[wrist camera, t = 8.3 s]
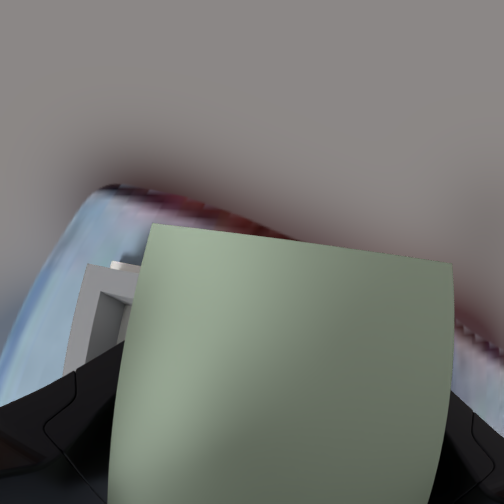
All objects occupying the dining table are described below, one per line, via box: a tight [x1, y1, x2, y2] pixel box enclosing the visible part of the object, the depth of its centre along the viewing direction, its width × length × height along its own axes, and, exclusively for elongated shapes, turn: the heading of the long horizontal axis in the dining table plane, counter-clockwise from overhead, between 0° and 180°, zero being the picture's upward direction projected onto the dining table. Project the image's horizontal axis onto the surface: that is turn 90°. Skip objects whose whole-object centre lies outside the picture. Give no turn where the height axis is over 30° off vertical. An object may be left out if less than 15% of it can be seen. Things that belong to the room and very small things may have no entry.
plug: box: [107, 223, 454, 504], centre depth 8 cm, size 5×5×10 cm
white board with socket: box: [62, 261, 141, 377], centre depth 18 cm, size 12×20×5 cm, turn 81°
